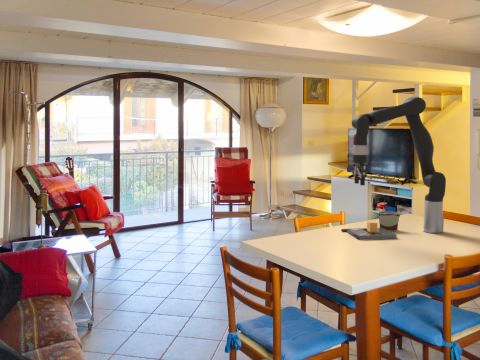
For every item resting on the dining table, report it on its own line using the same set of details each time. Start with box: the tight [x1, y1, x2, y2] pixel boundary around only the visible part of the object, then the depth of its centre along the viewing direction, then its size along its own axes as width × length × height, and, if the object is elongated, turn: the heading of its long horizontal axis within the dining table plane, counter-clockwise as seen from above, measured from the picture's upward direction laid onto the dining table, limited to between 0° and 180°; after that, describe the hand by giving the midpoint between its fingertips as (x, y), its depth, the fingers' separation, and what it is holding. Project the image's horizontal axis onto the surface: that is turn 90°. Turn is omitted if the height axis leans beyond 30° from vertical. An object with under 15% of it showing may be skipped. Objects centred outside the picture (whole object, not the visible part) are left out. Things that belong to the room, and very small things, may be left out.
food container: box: [377, 210, 401, 232], centre depth 266 cm, size 12×6×10 cm, turn 84°
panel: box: [346, 227, 398, 241], centre depth 252 cm, size 20×18×2 cm
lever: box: [366, 220, 378, 235], centre depth 251 cm, size 4×4×7 cm
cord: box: [346, 230, 359, 240], centre depth 250 cm, size 17×1×1 cm, turn 7°
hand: (359, 184), depth 250 cm, fingers open, 8 cm apart
